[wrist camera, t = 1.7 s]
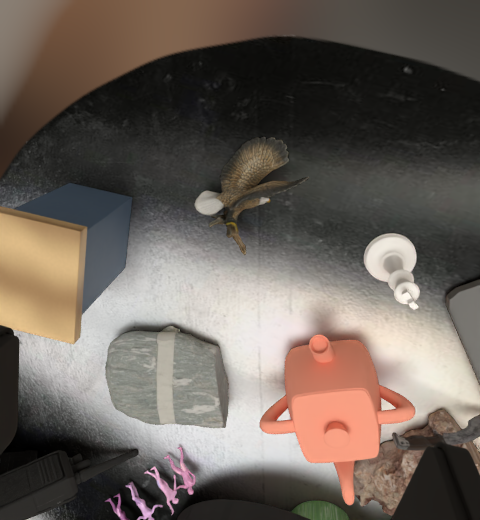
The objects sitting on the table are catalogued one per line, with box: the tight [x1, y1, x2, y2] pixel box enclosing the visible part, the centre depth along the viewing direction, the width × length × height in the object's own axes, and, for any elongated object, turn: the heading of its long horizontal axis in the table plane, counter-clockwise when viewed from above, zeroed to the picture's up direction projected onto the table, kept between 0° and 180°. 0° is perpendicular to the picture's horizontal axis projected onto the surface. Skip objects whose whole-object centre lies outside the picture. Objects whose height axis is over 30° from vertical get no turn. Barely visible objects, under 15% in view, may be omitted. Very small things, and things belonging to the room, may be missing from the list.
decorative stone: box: [105, 326, 229, 428], centre depth 49 cm, size 13×10×6 cm
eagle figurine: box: [195, 137, 309, 255], centre depth 40 cm, size 8×7×9 cm
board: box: [0, 206, 87, 344], centre depth 35 cm, size 10×8×1 cm
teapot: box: [260, 335, 415, 505], centre depth 45 cm, size 14×12×10 cm
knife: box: [392, 415, 480, 451], centre depth 45 cm, size 17×1×3 cm
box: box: [14, 183, 132, 314], centre depth 41 cm, size 8×7×12 cm
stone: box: [353, 410, 480, 516], centre depth 51 cm, size 15×7×10 cm
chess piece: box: [364, 233, 420, 310], centre depth 39 cm, size 5×5×10 cm
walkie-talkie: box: [0, 450, 138, 520], centre depth 54 cm, size 6×6×20 cm
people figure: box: [105, 447, 196, 520], centre depth 59 cm, size 18×6×8 cm
